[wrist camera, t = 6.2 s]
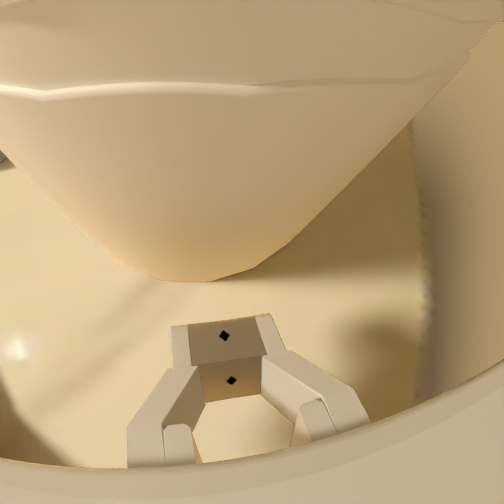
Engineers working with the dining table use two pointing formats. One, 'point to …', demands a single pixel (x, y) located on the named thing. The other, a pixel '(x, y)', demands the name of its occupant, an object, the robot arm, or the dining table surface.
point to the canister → (215, 113)
